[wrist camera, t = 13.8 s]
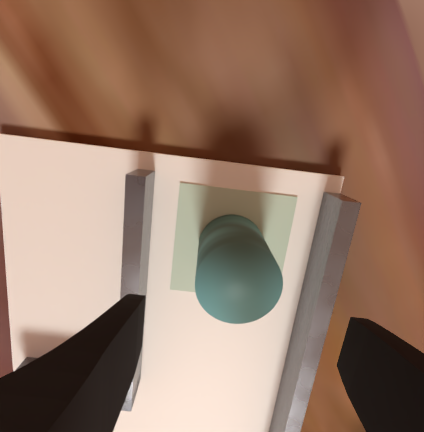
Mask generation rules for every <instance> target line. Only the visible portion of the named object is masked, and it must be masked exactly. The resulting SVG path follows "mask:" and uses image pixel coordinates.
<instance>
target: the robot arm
mask: <svg viewBox="0 0 424 432" xmlns="http://www.w3.org/2000/svg"><path fill="white" fill-rule="evenodd" d="M145 299H146V295H137V294H127V295H125V296H124V297H123V298H122V299H120V300H119V301H118V302H117V303H115V304H114V305H113V306H112V307H110V308H109V309H108V310H107V311H106V312H104V313H103V314H102V315H100V316H99V317H98V318H97V319H95V320H94V321H93V322H91V323H90V324H89V325H87V326H86V327H85V328H83V329H82V330H81V331H79V332H78V333H76V334H75V335H73V336H72V337H71V338H69V339H68V340H66V341H65V342H63V343H62V344H60V345H59V346H57V347H56V348H54V349H52V350H51V351H49V352H47V353H46V354H44V355H42V356H41V357H39V358H37V359H35V360H34V361H32V362H30V363H28V364H27V365H25V366H23V367H21V368H19V369H17V370H15V371H13V372H11V373H9V374H7V375H5V376H3V377H1V378H0V432H113V430H114V428H115V425H116V422H117V420H118V417H119V415H120V412H121V409H122V407H123V404H124V402H125V399H126V396H127V394H128V391H129V388H130V386H131V383H132V381H133V378H134V375H135V372H136V368H137V364H138V360H139V356H140V352H141V349H142V341H143V327H144V313H145ZM337 367H338V370H339V373H340V376H341V379H342V382H343V384H344V387H345V389H346V392H347V394H348V397H349V399H350V401H351V403H352V405H353V407H354V409H355V411H356V413H357V415H358V417H359V419H360V421H361V422H362V424H363V426H364V428H365V430H366V432H424V353H422V352H421V351H419V350H418V349H416V348H415V347H413V346H411V345H410V344H408V343H407V342H405V341H404V340H402V339H401V338H399V337H397V336H396V335H394V334H393V333H391V332H390V331H388V330H386V329H385V328H383V327H381V326H380V325H378V324H376V323H375V322H373V321H371V320H369V319H364V318H355V317H350V321H349V324H348V328H347V331H346V335H345V338H344V342H343V345H342V349H341V352H340V356H339V359H338V363H337Z"/></svg>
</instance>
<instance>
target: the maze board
mask: <svg viewBox="0 0 424 432" xmlns="http://www.w3.org/2000/svg"><path fill="white" fill-rule="evenodd" d="M136 169H144V170H152V171H155V180H154V195H153V209H152V223H151V237H150V251H149V266H148V280H147V294H146V308H145V322H144V336H143V351H142V365H141V379H140V383H139V386H138V390H137V393H136V397H135V400H134V403H133V407H132V410H131V411H121V412H120V415H119V417H118V420H117V422H116V425H115V428H114V430H113V432H269V429H270V424H271V420H272V415H273V411H274V407H275V402H276V398H277V394H278V389H279V385H280V381H281V376H282V372H283V367H284V363H285V359H286V354H287V350H288V346H289V341H290V337H291V333H292V328H293V324H294V319H295V315H296V311H297V306H298V302H299V298H300V293H301V289H302V285H303V280H304V276H305V271H306V267H307V263H308V258H309V254H310V250H311V245H312V241H313V237H314V232H315V228H316V223H317V219H318V215H319V210H320V206H321V202H322V197H323V193H324V192H331V193H339V194H340V193H341V189H342V185H343V180H344V177H343V176H339V175H331V174H323V173H315V172H307V171H299V170H291V169H282V168H274V167H266V166H258V165H250V164H242V163H234V162H226V161H218V160H210V159H202V158H194V157H186V156H178V155H170V154H162V153H154V152H146V151H138V150H130V149H122V148H114V147H106V146H98V145H90V144H82V143H74V142H66V141H58V140H50V139H42V138H34V137H26V136H18V135H10V134H2V133H0V196H1V210H2V224H3V237H4V251H5V265H6V278H7V292H8V306H9V320H10V333H11V347H12V361H13V371H15V370H16V369H17V368H18V367H19V365H20V364H21V363H22V362H23V361H24V359H25V358H26V357H34V358H39V357H41V356H42V355H44V354H46V353H47V352H49V351H51V350H52V349H54V348H56V347H57V346H59V345H60V344H62V343H63V342H65V341H66V340H68V339H69V338H71V337H72V336H73V335H75V334H76V333H78V332H79V331H81V330H82V329H83V328H85V327H86V326H87V325H89V324H90V323H91V322H93V321H94V320H95V319H97V318H98V317H99V316H100V315H102V314H103V313H104V312H106V311H107V310H108V309H109V308H110V307H112V306H113V305H114V304H115V303H117V302H118V301H119V300H120V291H121V268H122V245H123V222H124V199H125V176H126V174H127V173H130V172H132V171H134V170H136ZM229 214H234V215H240V216H243V217H246V218H248V219H249V220H251V221H252V222H253V223H254V224H255V225H256V226H257V227H258V228H259V230H260V232H261V234H262V236H263V238H264V239H265V241H266V243H267V245H268V247H269V249H270V251H271V253H272V254H273V256H274V258H275V260H276V262H277V264H278V266H279V267H280V270H281V273H282V277H283V289H282V293H281V296H280V299H279V300H278V302H277V304H276V305H275V307H274V308H273V309H272V310H271V311H270V312H269V313H268V314H266V315H265V316H263V317H262V318H260V319H258V320H256V321H253V322H249V323H244V324H232V323H226V322H223V321H220V320H218V319H216V318H214V317H212V316H211V315H209V314H208V313H207V312H206V311H205V310H204V309H203V308H202V306H201V305H200V303H199V301H198V299H197V296H196V293H195V276H196V265H197V255H198V245H199V238H200V235H201V233H202V231H203V229H204V228H205V227H206V225H207V224H208V223H209V222H211V221H212V220H214V219H215V218H217V217H220V216H223V215H229Z"/></svg>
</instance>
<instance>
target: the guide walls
mask: <svg viewBox="0 0 424 432" xmlns="http://www.w3.org/2000/svg"><path fill="white" fill-rule="evenodd" d="M154 180H155V171H152V170H144V169H136V170H134V171H132V172H130V173H127V174H126V176H125V199H124V222H123V245H122V268H121V291H120V299H122V298H123V297H124V296H125V295H127V294H137V295H146V294H147V280H148V266H149V251H150V237H151V223H152V209H153V195H154ZM360 206H361V203H360V202H358V201H356V200H354V199H351V198H349V197H347V196H345V195H342V194H339V193H331V192H324V193H323V197H322V202H321V206H320V210H319V215H318V219H317V223H316V228H315V232H314V237H313V241H312V245H311V250H310V254H309V258H308V263H307V267H306V271H305V276H304V280H303V285H302V289H301V293H300V298H299V302H298V306H297V311H296V315H295V319H294V324H293V328H292V333H291V337H290V341H289V346H288V350H287V354H286V359H285V363H284V367H283V372H282V376H281V381H280V385H279V389H278V394H277V398H276V402H275V407H274V411H273V415H272V420H271V424H270V429H269V432H300V431H301V427H302V423H303V420H304V416H305V412H306V408H307V405H308V401H309V397H310V393H311V390H312V386H313V382H314V378H315V375H316V371H317V367H318V364H319V360H320V356H321V352H322V349H323V345H324V341H325V337H326V334H327V330H328V326H329V322H330V319H331V315H332V311H333V307H334V304H335V300H336V296H337V292H338V289H339V285H340V281H341V277H342V274H343V270H344V266H345V262H346V259H347V255H348V251H349V247H350V244H351V240H352V236H353V232H354V229H355V225H356V221H357V217H358V214H359V210H360ZM145 308H146V299H145ZM144 322H145V313H144ZM143 336H144V327H143ZM142 351H143V341H142V349H141V352H140V356H139V360H138V364H137V368H136V372H135V375H134V378H133V381H132V383H131V386H130V388H129V391H128V394H127V396H126V399H125V402H124V404H123V407H122V409H121V411H131V410H132V407H133V403H134V400H135V397H136V393H137V390H138V386H139V383H140V379H141V365H142ZM35 359H37V358H34V357H26V358H25V359H24V361H23V362H22V363H21V364H20V365H19V367H18V368H17V369H19V368H21V367H23V366H25V365H27V364H28V363H30V362H32V361H34V360H35ZM17 369H16V370H17Z"/></svg>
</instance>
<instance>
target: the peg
mask: <svg viewBox="0 0 424 432" xmlns="http://www.w3.org/2000/svg"><path fill="white" fill-rule="evenodd" d="M282 289H283V277H282V273H281V270H280V267H279V266H278V264H277V262H276V260H275V258H274V256H273V254H272V253H271V251H270V249H269V247H268V245H267V243H266V241H265V239H264V238H263V236H262V234H261V232H260V230H259V228H258V227H257V226H256V225H255V224H254V223H253V222H252V221H251V220H249V219H248V218H246V217H243V216H240V215H234V214H229V215H223V216H220V217H217V218H215V219H214V220H212V221H211V222H209V223H208V224H207V225H206V227H205V228H204V229H203V231H202V233H201V235H200V238H199V245H198V255H197V265H196V276H195V293H196V296H197V299H198V301H199V303H200V305H201V306H202V308H203V309H204V310H205V311H206V312H207V313H208V314H209V315H211V316H212V317H214V318H216V319H218V320H220V321H223V322H226V323H232V324H244V323H249V322H253V321H256V320H258V319H260V318H262V317H263V316H265V315H266V314H268V313H269V312H270V311H271V310H272V309H273V308H274V307H275V305H276V304H277V302H278V300H279V299H280V296H281V293H282Z"/></svg>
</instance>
